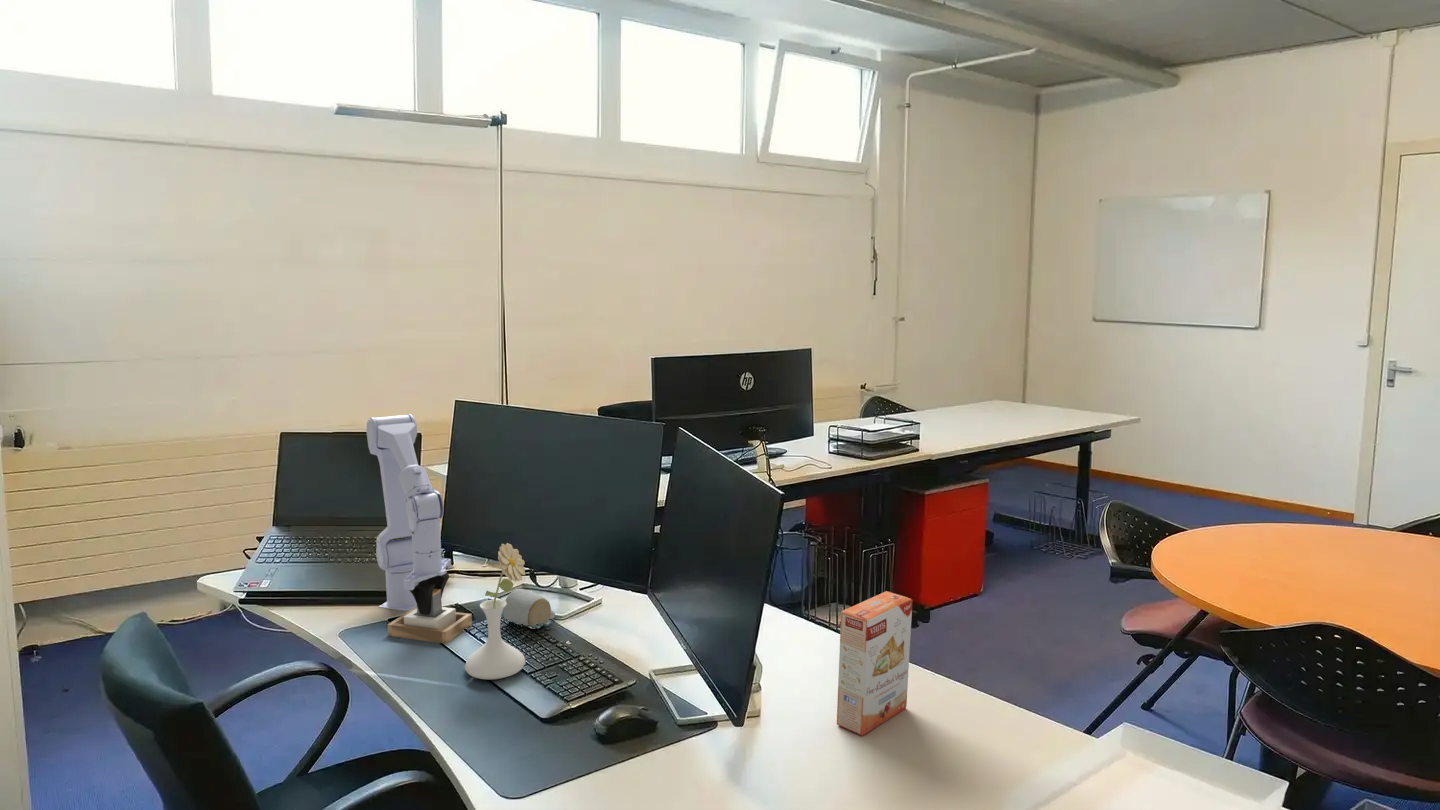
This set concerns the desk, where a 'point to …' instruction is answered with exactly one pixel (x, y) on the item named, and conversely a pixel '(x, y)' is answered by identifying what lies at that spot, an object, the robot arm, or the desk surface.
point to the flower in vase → (498, 626)
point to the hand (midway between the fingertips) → (429, 610)
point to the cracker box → (873, 661)
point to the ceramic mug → (527, 608)
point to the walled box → (429, 629)
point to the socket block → (432, 619)
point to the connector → (434, 605)
